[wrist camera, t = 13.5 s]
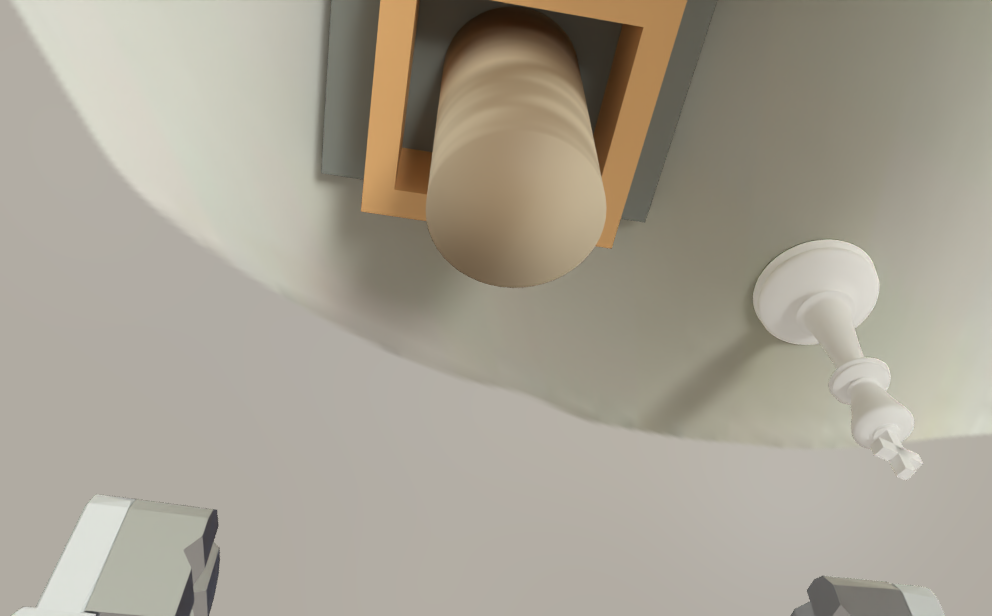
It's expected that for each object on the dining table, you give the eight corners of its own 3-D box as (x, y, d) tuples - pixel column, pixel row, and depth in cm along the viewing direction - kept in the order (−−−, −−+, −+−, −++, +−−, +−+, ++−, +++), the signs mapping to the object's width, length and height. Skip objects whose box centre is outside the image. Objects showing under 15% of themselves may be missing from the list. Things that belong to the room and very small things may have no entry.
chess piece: (805, 219, 33) (903, 397, 25) (902, 268, 35) (1023, 451, 27) (728, 309, 36) (794, 496, 28) (820, 351, 37) (909, 540, 29)
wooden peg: (592, 19, 28) (627, 147, 20) (562, 145, 30) (583, 298, 23) (453, -5, 27) (438, 117, 20) (434, 125, 30) (415, 274, 23)
